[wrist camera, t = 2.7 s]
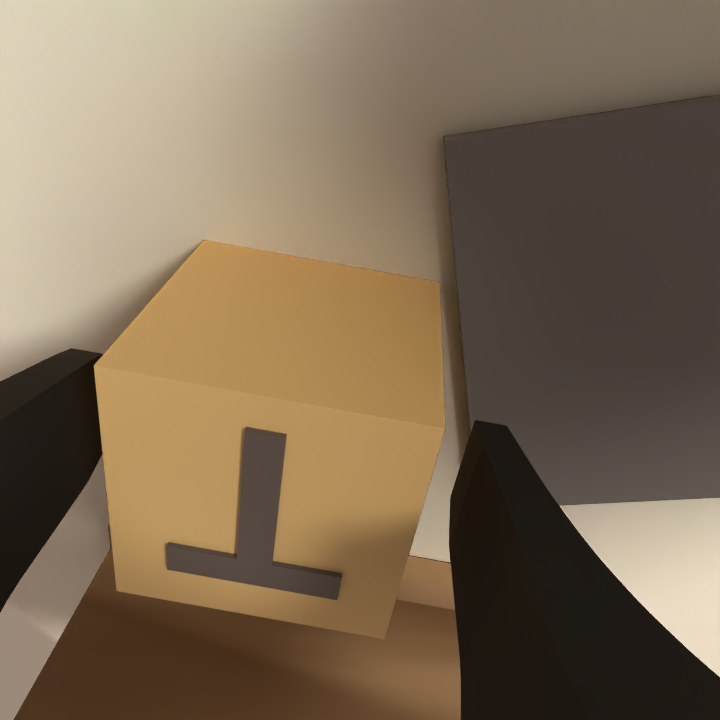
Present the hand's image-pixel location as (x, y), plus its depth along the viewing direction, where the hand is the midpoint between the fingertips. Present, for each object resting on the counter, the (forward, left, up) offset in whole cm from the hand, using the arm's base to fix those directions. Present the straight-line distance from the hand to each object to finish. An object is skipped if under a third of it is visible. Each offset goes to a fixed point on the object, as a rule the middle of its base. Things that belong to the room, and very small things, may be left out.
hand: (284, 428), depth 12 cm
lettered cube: (0, 0, -3) cm, 3 cm away
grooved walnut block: (-7, +2, -3) cm, 8 cm away
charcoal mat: (0, -8, -3) cm, 8 cm away
